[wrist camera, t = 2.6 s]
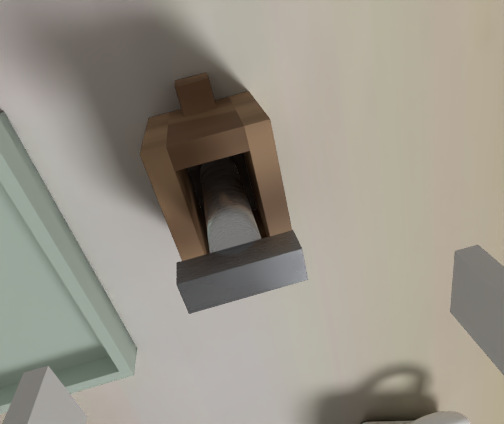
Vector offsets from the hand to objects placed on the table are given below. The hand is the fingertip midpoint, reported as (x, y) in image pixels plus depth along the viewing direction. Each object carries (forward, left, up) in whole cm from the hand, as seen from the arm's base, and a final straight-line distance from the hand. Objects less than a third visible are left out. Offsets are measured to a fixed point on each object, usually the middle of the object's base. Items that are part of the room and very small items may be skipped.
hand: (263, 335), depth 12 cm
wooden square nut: (0, 0, -14) cm, 14 cm away
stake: (0, 0, -14) cm, 14 cm away
